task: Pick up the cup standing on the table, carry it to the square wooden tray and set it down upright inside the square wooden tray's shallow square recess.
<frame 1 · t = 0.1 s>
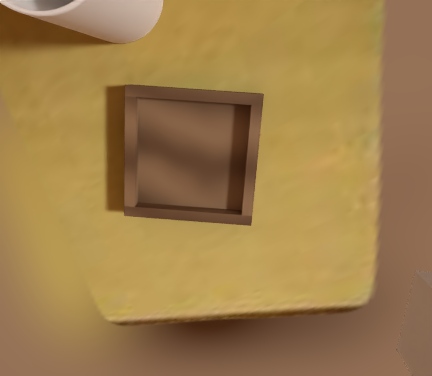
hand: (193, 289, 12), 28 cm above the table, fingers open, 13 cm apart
square wooden tray: (193, 153, 39), on the table
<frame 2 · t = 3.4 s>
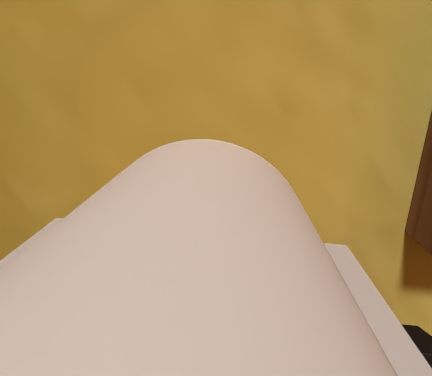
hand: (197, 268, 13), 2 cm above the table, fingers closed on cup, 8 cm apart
cup: (202, 240, 16), on the table, touching gripper
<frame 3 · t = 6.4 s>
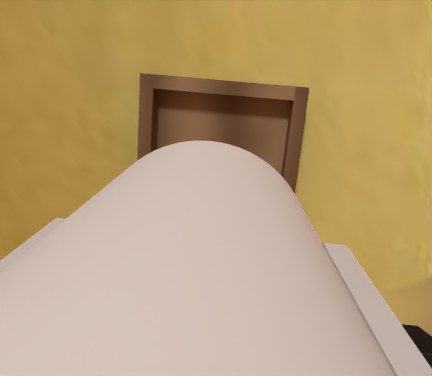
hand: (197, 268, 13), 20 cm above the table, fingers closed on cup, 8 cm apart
cup: (202, 241, 16), point 18 cm above the table, touching gripper
square wooden tray: (218, 158, 33), on the table
when the fingers open (5 cm above the table, at t = 9.4 s): cup drops 2 cm, resting on square wooden tray.
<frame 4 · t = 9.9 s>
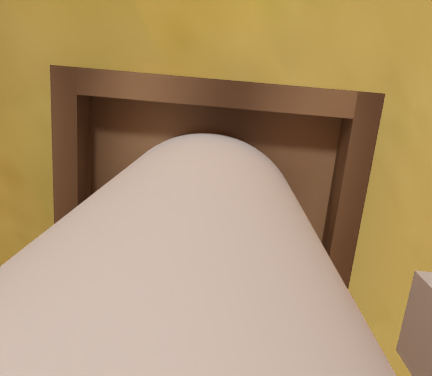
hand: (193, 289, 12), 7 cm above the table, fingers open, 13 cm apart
cup: (204, 222, 18), point 1 cm above the table, touching square wooden tray
square wooden tray: (207, 217, 19), on the table
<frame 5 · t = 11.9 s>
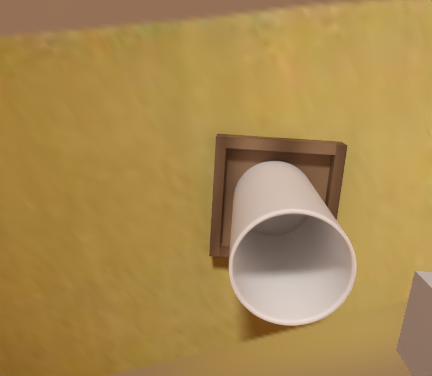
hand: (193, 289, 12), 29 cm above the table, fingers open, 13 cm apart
cup: (273, 199, 41), point 1 cm above the table, touching square wooden tray
square wooden tray: (273, 196, 42), on the table
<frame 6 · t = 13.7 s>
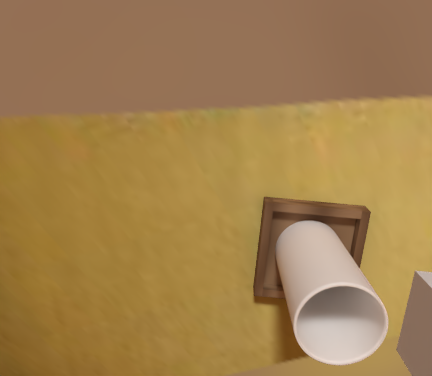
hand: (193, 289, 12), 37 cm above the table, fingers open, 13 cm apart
cup: (307, 249, 50), point 1 cm above the table, touching square wooden tray
square wooden tray: (307, 247, 51), on the table
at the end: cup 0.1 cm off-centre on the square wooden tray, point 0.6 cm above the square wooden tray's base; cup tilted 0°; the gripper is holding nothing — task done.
